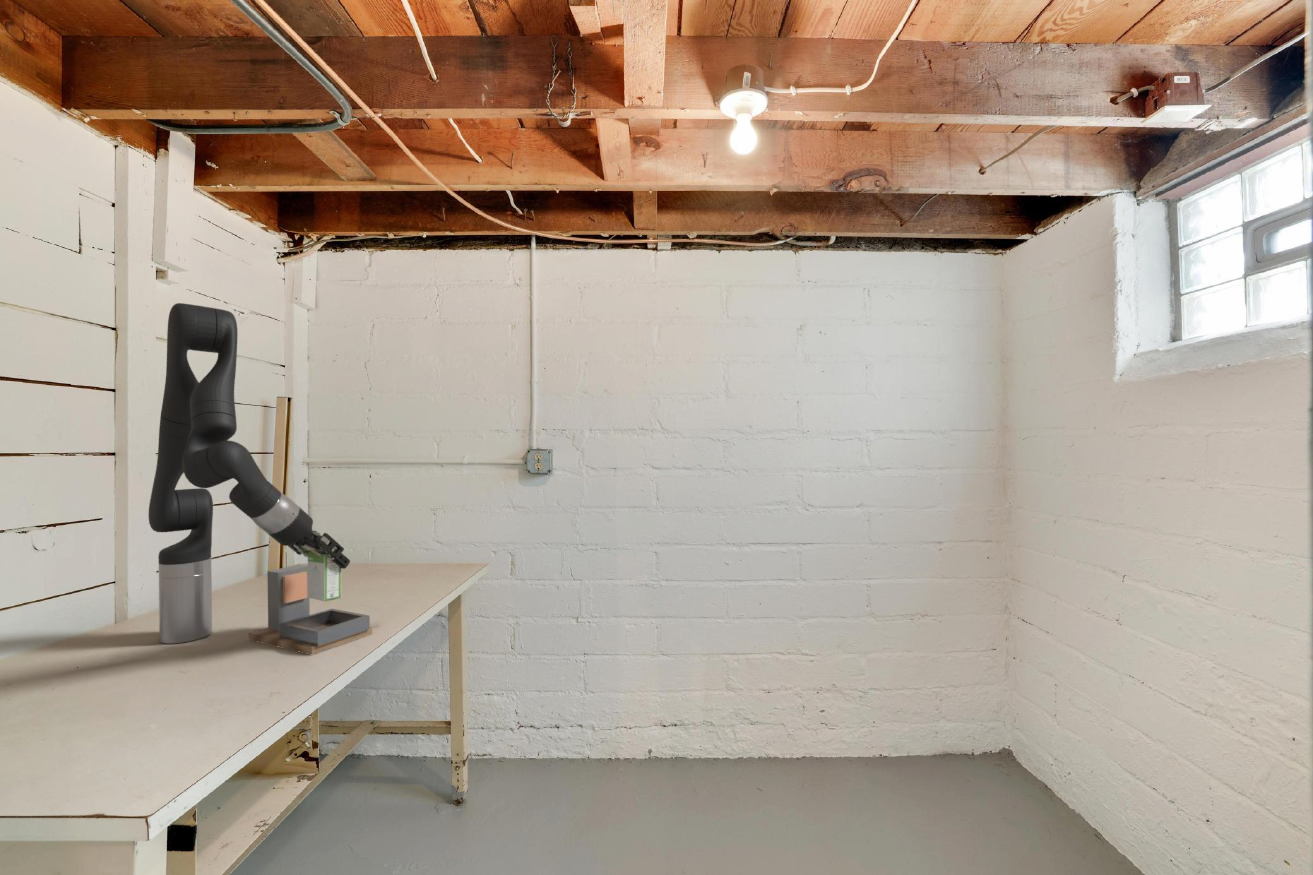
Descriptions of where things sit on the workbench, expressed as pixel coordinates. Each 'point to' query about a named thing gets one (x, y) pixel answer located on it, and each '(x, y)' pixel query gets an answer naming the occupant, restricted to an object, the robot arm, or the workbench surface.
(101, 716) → the workbench surface
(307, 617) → the dark gray rectangular frame
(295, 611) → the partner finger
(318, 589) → the ink box
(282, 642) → the walnut rail base
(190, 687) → the workbench surface
